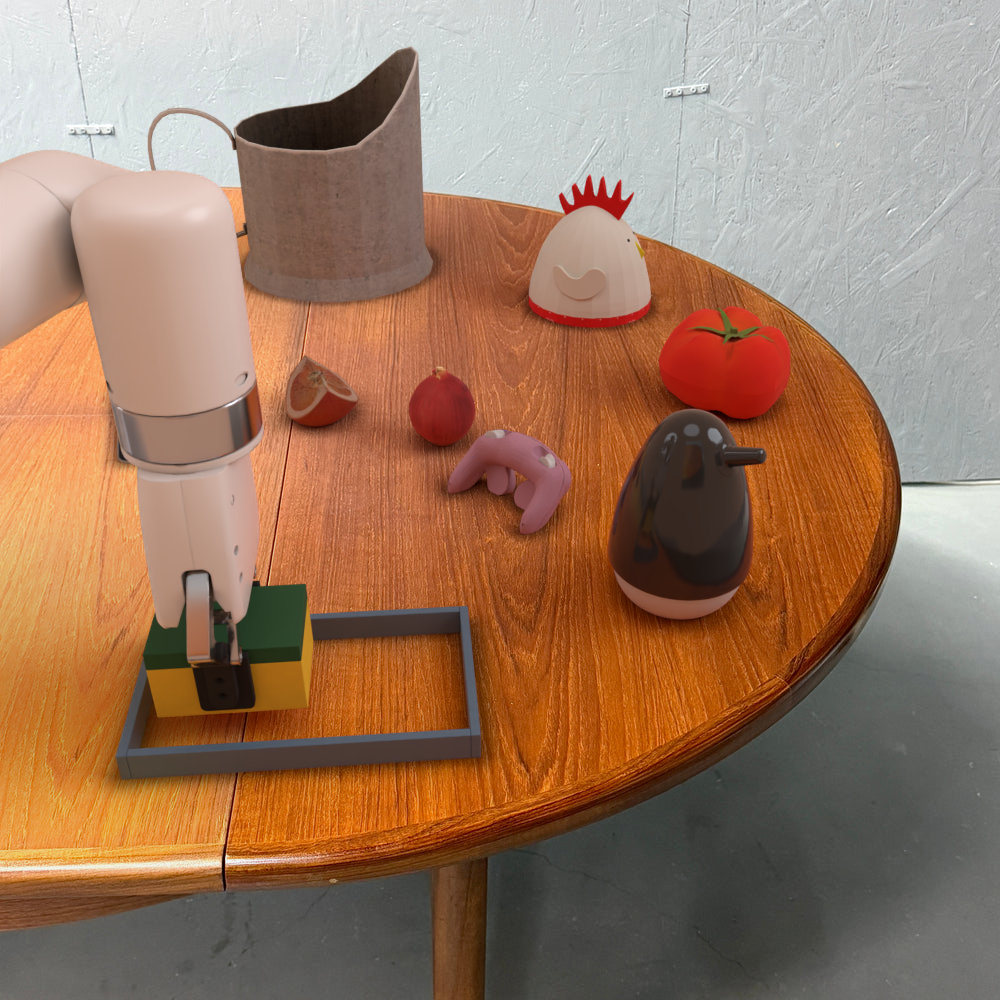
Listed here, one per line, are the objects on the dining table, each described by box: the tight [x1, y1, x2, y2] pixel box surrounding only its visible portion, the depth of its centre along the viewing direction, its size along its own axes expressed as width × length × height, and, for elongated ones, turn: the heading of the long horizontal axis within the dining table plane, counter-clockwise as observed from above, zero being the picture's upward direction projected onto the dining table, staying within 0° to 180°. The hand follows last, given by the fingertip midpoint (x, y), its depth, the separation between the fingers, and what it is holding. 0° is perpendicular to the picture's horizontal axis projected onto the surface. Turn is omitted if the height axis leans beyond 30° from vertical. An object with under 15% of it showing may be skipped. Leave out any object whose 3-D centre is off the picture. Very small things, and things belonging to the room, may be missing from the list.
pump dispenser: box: [607, 408, 768, 620], centre depth 75 cm, size 10×10×15 cm
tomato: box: [658, 305, 792, 420], centre depth 101 cm, size 13×12×8 cm
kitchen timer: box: [528, 174, 652, 329], centre depth 119 cm, size 14×14×15 cm
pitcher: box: [147, 46, 434, 303], centre depth 124 cm, size 23×32×25 cm
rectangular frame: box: [115, 605, 482, 781], centre depth 69 cm, size 21×12×2 cm, turn 95°
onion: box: [408, 365, 477, 447], centre depth 95 cm, size 6×6×8 cm
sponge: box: [142, 583, 314, 718], centre depth 66 cm, size 9×6×5 cm, turn 95°
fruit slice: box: [284, 354, 360, 428], centre depth 100 cm, size 8×7×5 cm
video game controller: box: [447, 428, 572, 535], centre depth 88 cm, size 10×5×7 cm, turn 45°
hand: (235, 666), depth 67 cm, fingers closed on sponge, 6 cm apart
